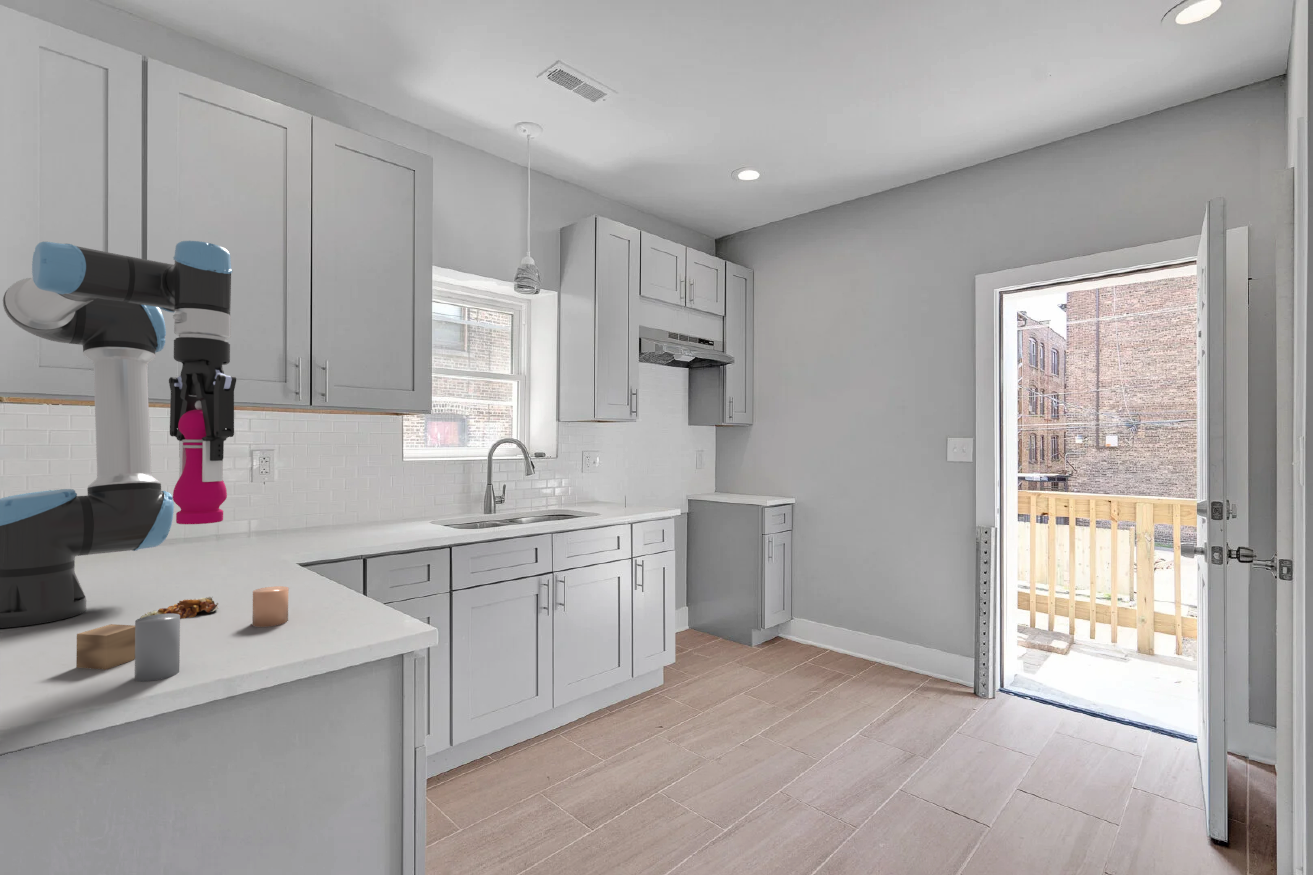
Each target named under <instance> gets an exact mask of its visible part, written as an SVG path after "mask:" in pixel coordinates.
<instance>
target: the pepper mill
mask: <svg viewBox="0 0 1313 875" xmlns="http://www.w3.org/2000/svg"><path fill="white" fill-rule="evenodd" d="M195 407H196V409H197V410H191V411H188V412H186V413H185V414H183V415H182V417H181V418H180V420H179V424H178V427H179V431H180V432H181V433H182V434H183V435H184V437H185V439H184V440H182V442H184V443H183V445H182V447H183V448H185V452H186V463H185V467H184V470H183V472H182V475H181V476H180V478H179V477H178V480H177V482H176V484H175V486H174V489H173V493H172V497H173V499H172V501H173V502H174V503H175V504H176V505H177V506H178V507H179V508H180V510H179V511H177V512H176V514H175V524H179V525H206V524H207V525H208V524H215V523H220V522H223V521H224V510H223V509H220V507H221V505H223V503H224V502H225V501H226V500H227V497H228V493H227V487H226V486H227V485H226V484H225V482H224V480H223V481H213V482H202V461H203V440H202V438H203V437H206V431H205V425H204V418H203V412H202V406H201V401H200V400H199V401H197V402H196V403H195Z"/></svg>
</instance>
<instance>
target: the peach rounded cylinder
mask: <svg viewBox="0 0 1313 875" xmlns="http://www.w3.org/2000/svg"><path fill="white" fill-rule="evenodd" d="M289 589H290V588H289V587H288V586H281V585H278V586H266V587H260V588H257V589H254V590H253V591H252V623H251V624H252V626H253V627H255V628H266V627H267V628H268V627H276V626H280V625H284V624H286V623H287V621H288V622H289ZM275 625H276V626H275Z"/></svg>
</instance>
